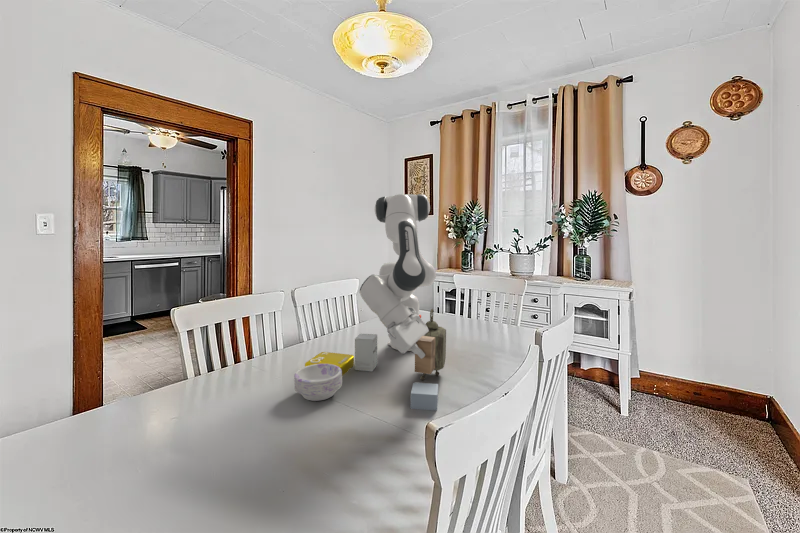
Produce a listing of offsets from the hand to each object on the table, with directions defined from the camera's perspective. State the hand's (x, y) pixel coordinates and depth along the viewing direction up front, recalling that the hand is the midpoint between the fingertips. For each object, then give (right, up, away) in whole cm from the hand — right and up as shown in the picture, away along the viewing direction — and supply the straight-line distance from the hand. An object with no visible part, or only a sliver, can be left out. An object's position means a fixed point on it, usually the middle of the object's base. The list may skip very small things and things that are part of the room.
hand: (427, 353), depth 114 cm
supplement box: (-21, -13, +31) cm, 40 cm away
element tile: (-35, -14, +30) cm, 48 cm away
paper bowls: (-35, -16, +8) cm, 39 cm away
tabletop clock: (+4, -14, +24) cm, 28 cm away
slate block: (-1, -16, +2) cm, 16 cm away
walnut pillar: (-1, -5, +1) cm, 5 cm away
